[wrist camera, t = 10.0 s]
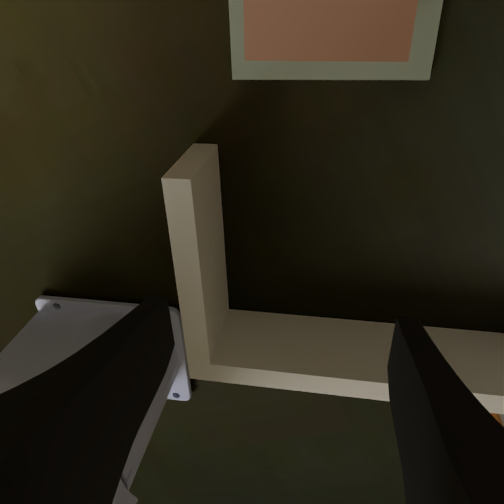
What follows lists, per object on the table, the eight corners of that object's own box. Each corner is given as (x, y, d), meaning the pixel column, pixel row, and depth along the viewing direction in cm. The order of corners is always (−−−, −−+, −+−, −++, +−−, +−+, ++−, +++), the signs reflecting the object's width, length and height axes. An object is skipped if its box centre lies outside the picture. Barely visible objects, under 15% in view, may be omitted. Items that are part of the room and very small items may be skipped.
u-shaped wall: (211, 322, 27) (189, 378, 23) (193, 143, 21) (161, 178, 17) (537, 353, 24) (574, 422, 20) (621, 154, 18) (695, 199, 14)
